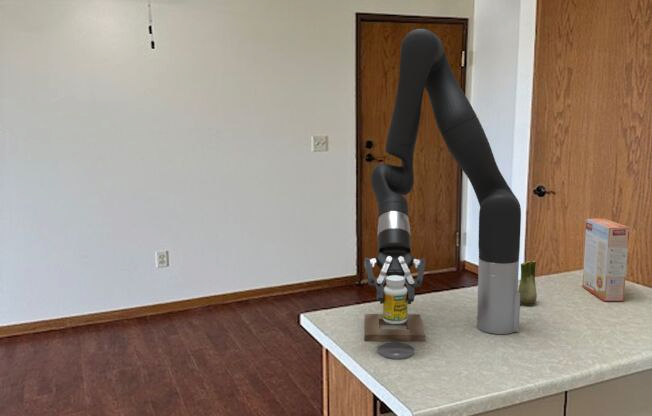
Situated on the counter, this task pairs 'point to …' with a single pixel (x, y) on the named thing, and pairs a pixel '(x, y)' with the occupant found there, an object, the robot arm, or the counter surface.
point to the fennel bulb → (527, 283)
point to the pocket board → (376, 334)
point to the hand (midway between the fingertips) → (395, 302)
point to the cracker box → (605, 259)
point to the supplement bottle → (395, 300)
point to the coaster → (396, 350)
